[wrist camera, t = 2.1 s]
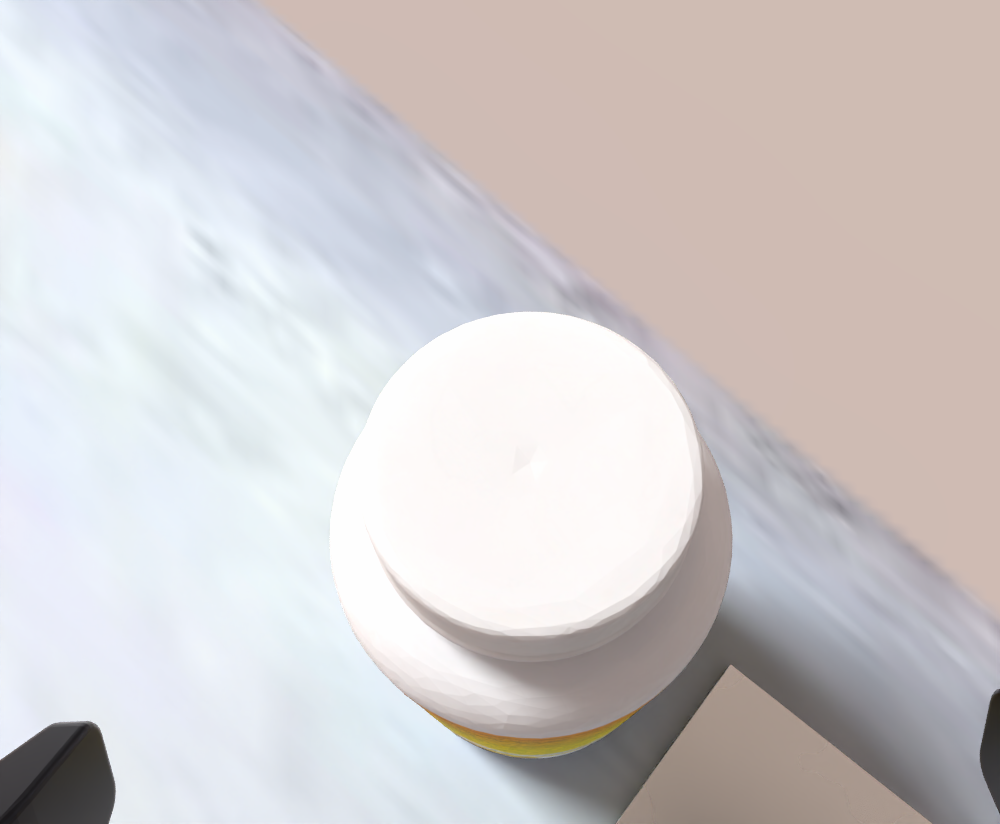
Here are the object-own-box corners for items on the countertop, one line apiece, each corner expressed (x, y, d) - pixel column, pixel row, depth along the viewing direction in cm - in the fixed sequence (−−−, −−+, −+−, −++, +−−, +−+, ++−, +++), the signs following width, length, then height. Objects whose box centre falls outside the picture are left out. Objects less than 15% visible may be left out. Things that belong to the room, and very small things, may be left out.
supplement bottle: (711, 657, 19) (892, 525, 9) (495, 817, 18) (456, 848, 8) (559, 455, 21) (584, 178, 11) (355, 588, 20) (196, 404, 10)
